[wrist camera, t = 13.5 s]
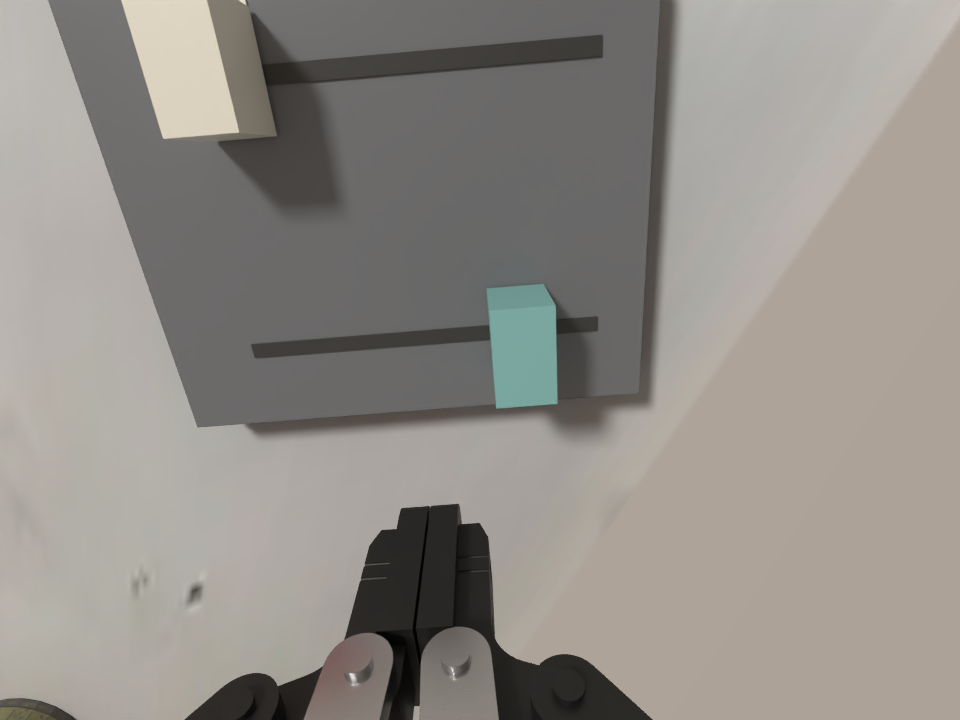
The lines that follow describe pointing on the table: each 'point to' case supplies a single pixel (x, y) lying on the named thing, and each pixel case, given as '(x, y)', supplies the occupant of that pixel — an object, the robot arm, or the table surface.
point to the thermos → (30, 710)
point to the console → (390, 199)
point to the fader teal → (523, 345)
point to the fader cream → (201, 68)
